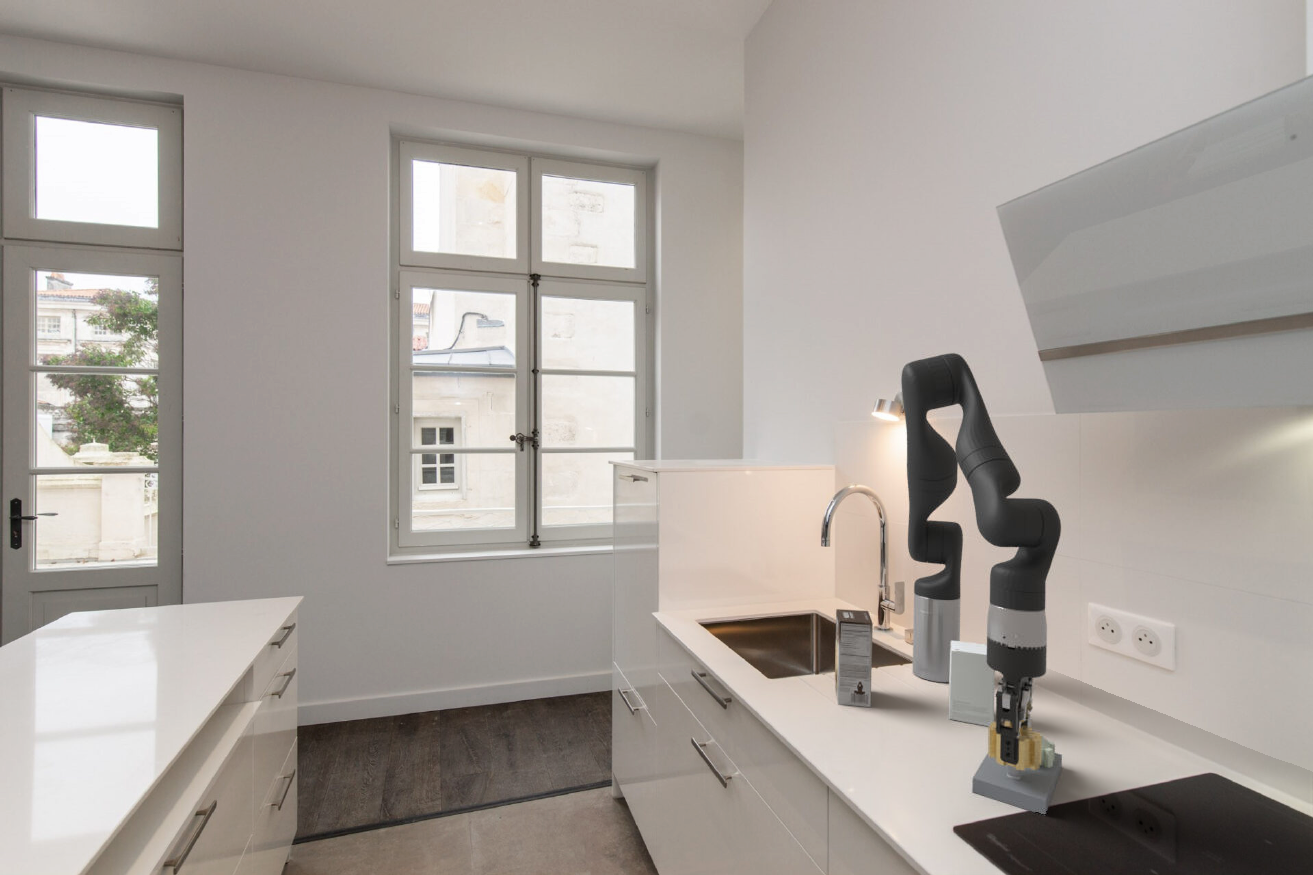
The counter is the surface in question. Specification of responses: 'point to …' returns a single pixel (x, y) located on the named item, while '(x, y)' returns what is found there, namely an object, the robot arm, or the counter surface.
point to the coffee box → (853, 657)
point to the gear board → (1021, 780)
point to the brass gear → (1027, 747)
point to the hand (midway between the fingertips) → (1014, 752)
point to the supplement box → (971, 684)
